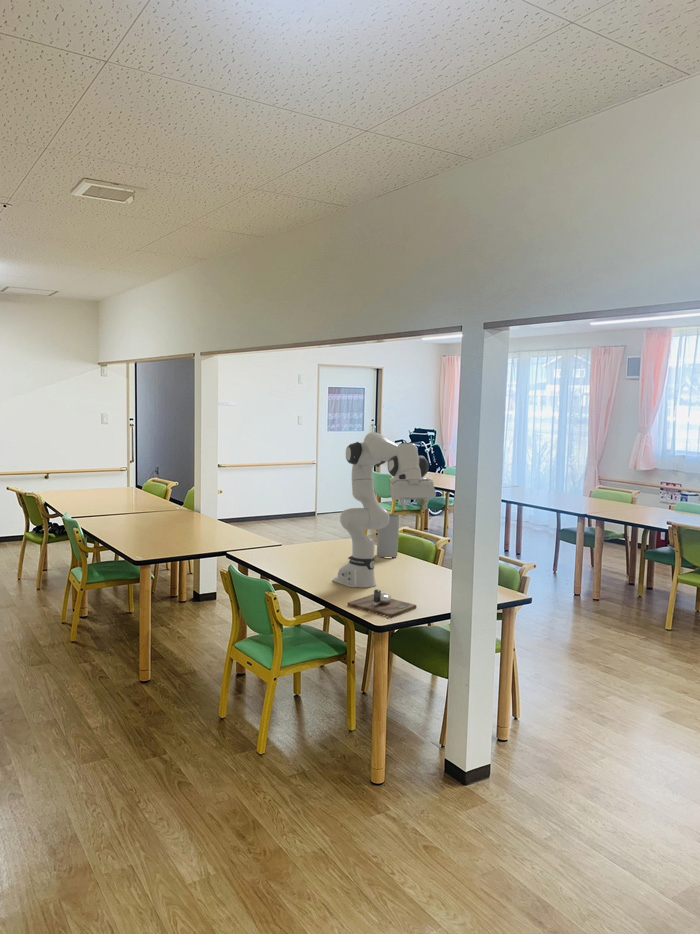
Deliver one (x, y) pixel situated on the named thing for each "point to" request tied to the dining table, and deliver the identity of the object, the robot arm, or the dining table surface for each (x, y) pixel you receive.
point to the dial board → (382, 606)
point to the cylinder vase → (388, 538)
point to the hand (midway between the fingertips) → (415, 509)
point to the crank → (381, 598)
